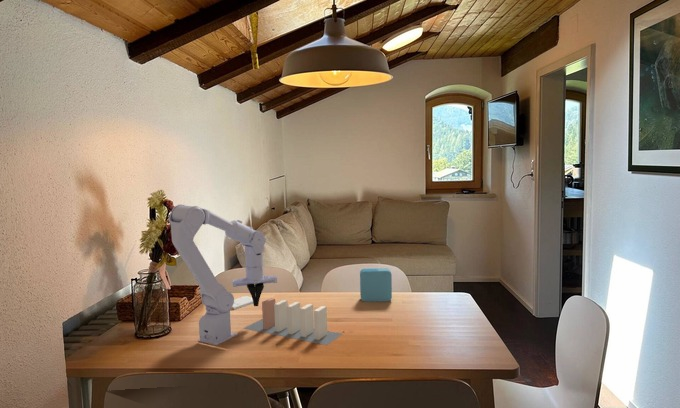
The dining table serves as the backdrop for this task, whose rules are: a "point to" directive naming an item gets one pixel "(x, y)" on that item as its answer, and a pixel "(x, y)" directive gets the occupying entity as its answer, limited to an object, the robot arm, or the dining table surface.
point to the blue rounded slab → (375, 285)
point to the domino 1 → (268, 313)
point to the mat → (310, 338)
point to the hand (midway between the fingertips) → (255, 305)
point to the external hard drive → (242, 302)
